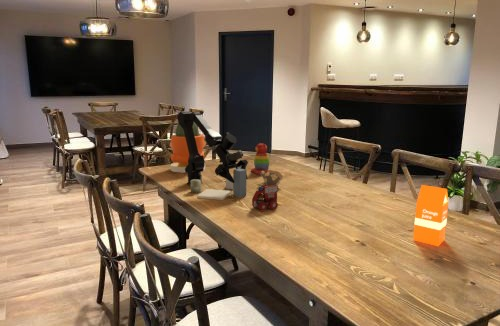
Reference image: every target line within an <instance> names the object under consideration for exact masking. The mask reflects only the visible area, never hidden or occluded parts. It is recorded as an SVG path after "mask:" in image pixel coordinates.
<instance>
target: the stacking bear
mask: <svg viewBox="0 0 500 326" xmlns="http://www.w3.org/2000/svg"><path fill="white" fill-rule="evenodd" d="M267 151H268V146H267V144H265V143H261V142H259V143H258V144H257V145H256V146H255V152H256V153H255V155H254V158H253V165H254V167H253V168H251V169H250V172H251V173H255V175H260V173H261V171H264V172H265V173H268V171H269V170H270V169H269V167H270V157H269V154H268V153H267ZM260 176H261V175H260Z"/></svg>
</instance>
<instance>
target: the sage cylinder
mask: <svg viewBox="0 0 500 326" xmlns="http://www.w3.org/2000/svg"><path fill="white" fill-rule="evenodd" d="M201 185H202V182H201V180H199V179H193V180H191V184H190V193H191V194H201V193H202V192H201V191H202V189H201V188H202V187H201Z"/></svg>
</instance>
